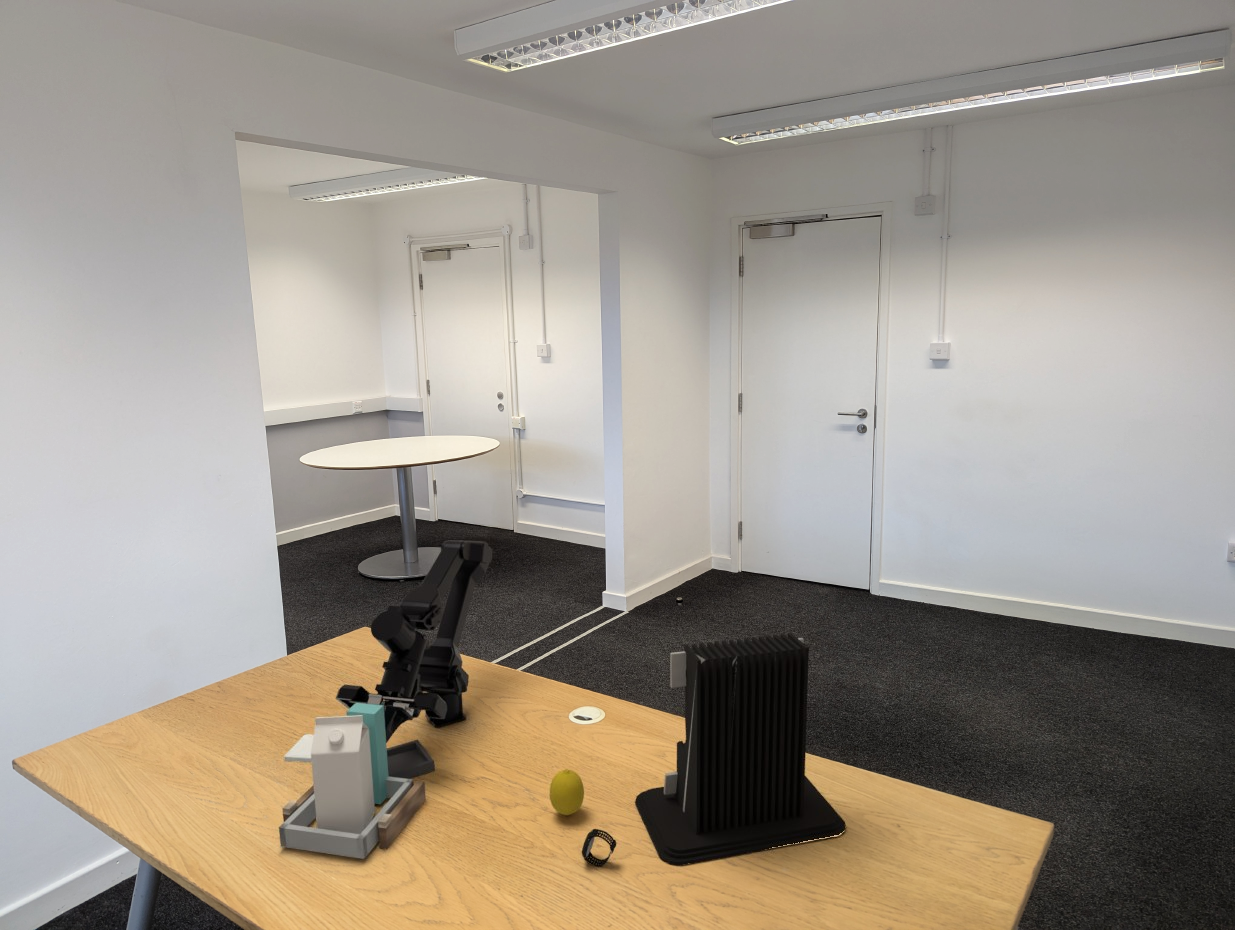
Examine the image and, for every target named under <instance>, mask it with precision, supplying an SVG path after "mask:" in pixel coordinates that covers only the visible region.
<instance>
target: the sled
mask: <svg viewBox="0 0 1235 930" xmlns="http://www.w3.org/2000/svg"><path fill="white" fill-rule="evenodd" d="M345 712H346V716H357V715H362V717H363V722H364V723H365V725H366V726H367V727H368V728H369V738H370V751H371V765H372V779H373V793H374V805H375V804H377V805H382V804H383V802H385V800H386V799H387V798H388V801H387V802H386V803H385V805H384V806H383V807H382V808H381V809H380V810H379V811H378V813H376V815H374V817H373V819H372V821H371V822H370V823H369V825H368V826H367V827H366V828H365V829H364V830H363V832H362V833H361V834H354V833H347V832H340V831H333V830H326V829H319V828H317V827H310V826H309V825H310V824H311V823H312V822H313V821H314V820H315V819H316V808H315V796H314V794H313V795H312V796H311V797H310V798H309V799H308V800H307V801H305V802H304V803H303V804H302V805H301V806H300V807H299V808H298V809H297V810H296V811H295V812H294V813H293V814H292V815H291V816H290V817H289V818H288V819H287V820H286V821H285V822H284V821H283V823H282V824H281V825H280V826H278V833H279V842H280V844H279V845H280V847H282V848H288V849H294V850H296V849H297V850H302V851H308V852H315V853H323V854H328V855H329V854H330V855H335V856H341V857H347V858H348V857H349V858H356V859H362V860H365V858H366V857H367V856H368V855H369V854H370V852H371V851H372V850H373V848H375V846H376V845H377V844H378V843H379V842H380V841H379V827H378V821H379V820H380V819H381V817H382V816H383V815H384V814H390V813H391V812H392V811H393V809H394V808H395V807H396V806H397V805H398V803H399V802H400V801H401V800H402V799H403V797H404V796H405V795H406V794H407V793H408V791H409V790H410V789H411V788H412V787H413V785H414V779H412V778H409V779H404V778H396V777H388V762H387V743H386V733H385V718H384V706H383V705H374V704H364V703H355V704H354V705H353V706H352V707H351V708H350V709H348V708H347V710H346V711H345ZM389 798H390V799H389Z"/></svg>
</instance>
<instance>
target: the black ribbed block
mask: <svg viewBox="0 0 1235 930" xmlns="http://www.w3.org/2000/svg"><path fill="white" fill-rule="evenodd" d="M779 635H780V636H779ZM779 635H778V634H773V635H765V638H764V636H762V635H759V636H758V638H757V637H756V636H752V637H750V638H751V640H750V638H748V637H744V638H743V640H742V639H741V638H737V639H736V641H735V640H734V639H729V641H727V640H723V639H722V640H721V643H720V642H719V641H717V640H716V641H714V642H712V641H707V642H706V645H705V643H704V642H699V646H698V645H697V644H696V643H691V647H690V646H689V644H683V651H675V652H670V654H669V655H670V656H669V657H670V662H669V663H670V665H669V667H670V670H669V671H670V672H669V673H670V674H669V675H670V676H669V677H670V681H669V683H670V685H669V686H670V689H673V688H682V687H684V721H685V722H684V723H685V742H684V741H683V740H679V741H678V742H676V771H672V772H665V774H664V783H663V786H659V787H654V788H653V787H652V788H648V789H646V790H644V791H641V792H640V793H639V794H638V795H636V797H635V800H634V805H635V807H636V810H637V811H638V815H639V816H640V819H641V820H642V822H643V825H644V827H645V829H646V832H647V833H648V836H649V838H650V841H651V843H652V844H653V847H654V849H655V852H656V853H657V855H658V858H659V859H660V860H661V861H663V862H665V863H667V864H668V865H672V864H673V865H674V866H680V865H681V866H684V865H683V864H686V865H689V864H688V863H692V864H696V863H695V862H698V863H702V862H701V861H703V862H707V861H706V860H709V861H713V860H719V858H720V859H724V858H725V859H726V858H730V857H735V856H736V857H737V856H740V855H746V854H752V852H753V853H758V852H762V851H761V850H764V851H766V850H765V849H769V848H772V847H778V846H783V845H787V844H793V843H794V844H795V843H798V842H799V843H800V842H803V841H808V840H814V839H819V838H825V837H830V836H834V835H839V834H840V833H842V832H843V831H844V830H845V831H846V828H845V826H846V825H847V824H846V821H845V820H844V819H843V818H842V817H841V816H840V814H839V813H838V812H837V811H836V809H834V807H833V806H832V805H831V803H830V802H828V800H827V799H826V798H825V796H823V795H822V793H821V792H820V791H819V789H817V788H816V786H815V785H814V784H813V783H812V781H811V780H810V779H809V778H808V777H807V776H806V755H807V753H806V748H807V746H806V745H807V721H808V720H807V715H808V714H807V713H808V688H809V687H808V686H809V685H808V684H809V660H810V659H809V658H810V657H809V656H810V655H809V654H810V652H809V651H810V647H808V646H807V645H806V644H805V642H804V641H805V639H804V638H803V637H797V636H796V635H795V634H793V633H792V632H788V633H787V635H786V634H785V633H780V634H779ZM769 850H770V849H769ZM712 859H713V860H712Z"/></svg>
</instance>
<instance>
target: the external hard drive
mask: <svg viewBox="0 0 1235 930" xmlns="http://www.w3.org/2000/svg"><path fill="white" fill-rule="evenodd" d="M313 737H314V734H309V733H308V734H307V733H306V734H303V736H302V737H300V739H298V740H297V742H296V743H295V744H294V745H293V746H292V747H291V749H289V750H288V751H287V752H286V754H285V755H284V756H283V757H284V762H292V761H294V762H295V761H300V762H299V763H312V762H311V749H312V743H313ZM294 762H293V763H294Z"/></svg>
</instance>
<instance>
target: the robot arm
mask: <svg viewBox="0 0 1235 930" xmlns="http://www.w3.org/2000/svg"><path fill="white" fill-rule="evenodd" d="M492 559H493V549H492V547H491V546H489V544H488V542H487V541H482V540H480V541H478V540H460V539H459V540H455V539H454V540H452V539H451V540H449V539H447V540H445V541H443V542H442V544H441V546H440V552H439V554H438V555H437V557H436V558H435V560H434V562H433V564H431V565H432V566H431V567H430V569H429V570H428V572H427V574H426V576H424V579H423V581H422V583H420V585H419V586H418V587H416V588H414V589H411V590H410V591H408V593H407V594H406V595H405V597H404V598H403V599H402V600H401V602H400V603H399V604H397V605H396V604H394V605H393V604H389V605H388V607H387V610H385V611H383V612H381V613H380V614H378V615H377V616H376V617H375V619H373V620H372V622H371V623H370V624H371V625H370V633H371V635H372V637H373V638H374V639H375V640H376V641H377V642H378V643H379V644H380V645H381V646H382V647H383V648H384V649H385V650H386V651H388V652H389V653H390V654H389V656H388V659H387V661H383V663H382V666H381V667H382V668H383V670H384V672H383V675H382V678H381V680H380V683H376V685H375V687H374V690H375V691H376V692H377V693H370V692H369V691H368V690H367V689H366V688H364V687H363V686H361V685H351V684H343V685H342V686H341V687H339V689H338V690H337V694H336V696H335V700H337V701H338V703H341V704H342V705H343V706H344V707H345V708H347V710H348V709H350V708H351V707H352V706H353V705H354V704H355V703H364V704H374V705H383V706H384V718H385V733H386V744H387V743H388V742H389V740H390V739H391V738H392V736H393V735H394V733H395V732H396V731H397V729H398V728H400V726H401V725H402V724H404V723H406V722H407V721H413V720H414V719H416V718H419V716H420V714H421V712H422V711H424V712H425V713H424V714H425V718H426V719H427V721H429V722H430V723H431V724H432V725H433V726H434V728H440V727H444V726H448V725H451V724H454V723H459V722H462V721H465V720H466V719H467V716H466V714H464V712H463V711H464V709H463V707H464V706H463V693H467V691H468V685H469V682H470V681H469V678H470V676H469V674H468V673H467V672H466V670H464V668H462V667H463V659H462V656H461V653H460V650H459V647H460V642H461V638H462V635H463V630H464V626H465V624H466V621H467V616H468V612H469V609H470V605H471V600H472V596H473V593H474V589H475V587H476V586H475V585H476V583H477V582H478V581H479V580H480V579H481V578H483V577H484V576H485V575H486V573H487V571H488V568H489V565H490V563H491V562H492V561H493V560H492ZM447 592H448V593H447ZM446 594H447V597H446V601H445V604H444V606H443V600H444V597H445V595H446ZM437 627H438V629H437V633H436V635H435V639H434V641H433V642H432V643H430V642H429V640H428V638H427V634H424V633H421V632H420V631H418V630H422V631H423V630H424V631H434V630H436V628H437Z"/></svg>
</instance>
